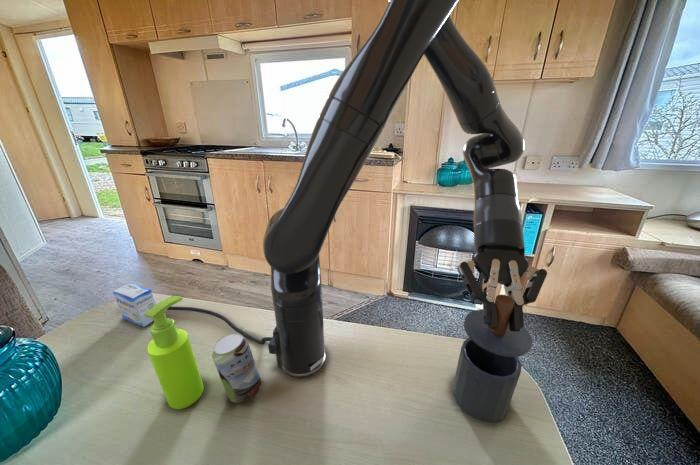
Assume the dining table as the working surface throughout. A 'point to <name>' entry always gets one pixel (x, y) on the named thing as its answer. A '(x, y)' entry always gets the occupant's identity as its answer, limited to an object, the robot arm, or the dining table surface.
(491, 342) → the lid
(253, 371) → the beverage can
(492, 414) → the tin
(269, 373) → the dining table surface
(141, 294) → the medicine box
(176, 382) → the soap dispenser
